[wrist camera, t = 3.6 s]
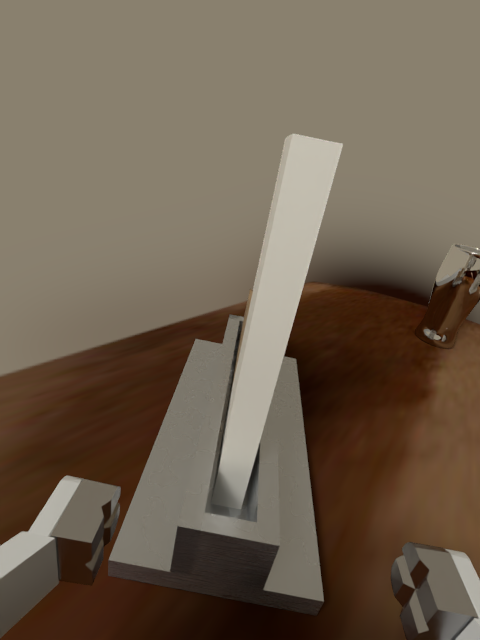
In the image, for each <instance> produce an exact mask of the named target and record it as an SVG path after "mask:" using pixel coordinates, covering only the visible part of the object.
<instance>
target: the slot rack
mask: <svg viewBox="0 0 480 640" xmlns="http://www.w3.org/2000/svg"><path fill="white" fill-rule="evenodd" d="M243 321H244V317H240V316H235V315H230V316H229V320H228V324H227V328H226V332H225V336H224V340H223V344H218V343H213V342H208V341H203V340H198V339H196V340H195V342H194V345H193V347H192V350H191V352H190V355H189V357H188V360H187V362H186V365H185V368H184V370H183V373H182V375H181V378H180V380H179V383H178V385H177V388H176V390H175V393H174V395H173V398H172V401H171V403H170V406H169V408H168V411H167V413H166V416H165V418H164V421H163V423H162V426H161V428H160V431H159V434H158V436H157V439H156V441H155V444H154V446H153V449H152V451H151V454H150V456H149V459H148V461H147V464H146V466H145V469H144V472H143V474H142V477H141V479H140V482H139V484H138V487H137V489H136V492H135V494H134V497H133V499H132V502H131V505H130V507H129V510H128V512H127V515H126V517H125V520H124V522H123V525H122V527H121V530H120V532H119V535H118V538H117V540H116V543H115V545H114V548H113V550H112V553H111V555H110V558H109V565H108V576H113V577H119V578H124V579H129V580H134V581H139V582H144V583H150V584H155V585H160V586H165V587H170V588H176V589H181V590H186V591H191V592H196V593H201V594H207V595H212V596H217V597H222V598H227V599H233V600H238V601H243V602H248V603H253V604H258V605H264V606H269V607H274V608H279V609H284V610H289V611H295V612H300V613H305V614H310V615H315V616H317V614H318V612H319V610H320V608H321V606H322V605H323V603H324V597H323V588H322V580H321V571H320V562H319V554H318V545H317V536H316V527H315V519H314V510H313V501H312V493H311V484H310V475H309V467H308V458H307V449H306V441H305V432H304V423H303V415H302V406H301V397H300V389H299V380H298V371H297V362H296V359H294V358H289V357H283V361H282V364H281V368H280V371H279V375H278V379H277V382H276V386H275V389H274V393H273V396H272V400H271V404H270V407H269V411H268V414H267V418H266V422H265V425H264V429H263V432H262V436H261V439H260V443H259V447H258V450H257V454H256V457H255V461H254V464H253V468H252V472H251V475H250V479H249V482H248V486H247V490H246V493H245V497H244V500H243V504H242V507H241V509H236V508H231V507H226V506H220V505H215V504H211V502H212V496H213V490H214V484H215V478H216V472H217V466H218V460H219V454H220V449H221V443H222V437H223V431H224V425H225V419H226V413H227V407H228V401H229V395H230V389H231V383H232V378H233V372H234V366H235V360H236V354H237V349H238V345H239V340H240V335H241V330H242V325H243Z"/></svg>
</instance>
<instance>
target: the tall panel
mask: <svg viewBox="0 0 480 640" xmlns="http://www.w3.org/2000/svg"><path fill="white" fill-rule="evenodd" d="M342 146H343V144H341V143H336V142H331V141H326V140H321V139H316V138H312V137H307V136H302V135H297V134H291V135H290V136H288V137H286V138H285V143H284V148H283V152H282V157H281V161H280V166H279V171H278V175H277V180H276V185H275V190H274V194H273V199H272V204H271V208H270V213H269V218H268V223H267V228H266V232H265V236H264V241H263V246H262V250H261V255H260V260H259V265H258V270H257V274H256V279H255V283H254V288H253V293H252V297H251V302H250V307H249V311H248V316H247V321H246V326H245V330H244V335H243V340H242V344H241V349H240V354H239V358H238V363H237V368H236V372H235V377H234V382H233V386H232V391H231V396H230V401H229V405H228V410H227V415H226V419H225V425H224V431H223V437H222V443H221V449H220V454H219V460H218V466H217V472H216V478H215V484H214V490H213V496H212V502H211V504H215V505H220V506H226V507H231V508H236V509H241V507H242V504H243V500H244V497H245V493H246V490H247V486H248V482H249V479H250V475H251V472H252V468H253V464H254V461H255V457H256V454H257V450H258V447H259V443H260V439H261V436H262V432H263V429H264V425H265V422H266V418H267V414H268V411H269V407H270V404H271V400H272V396H273V393H274V389H275V386H276V382H277V379H278V375H279V371H280V368H281V364H282V361H283V357H284V354H285V350H286V346H287V343H288V339H289V336H290V332H291V328H292V325H293V321H294V318H295V314H296V311H297V307H298V303H299V300H300V296H301V293H302V289H303V286H304V282H305V278H306V275H307V271H308V268H309V264H310V260H311V257H312V253H313V250H314V246H315V243H316V239H317V235H318V232H319V228H320V224H321V221H322V218H323V214H324V210H325V207H326V203H327V200H328V196H329V192H330V189H331V185H332V181H333V178H334V174H335V171H336V167H337V164H338V160H339V156H340V153H341V150H342Z"/></svg>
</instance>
